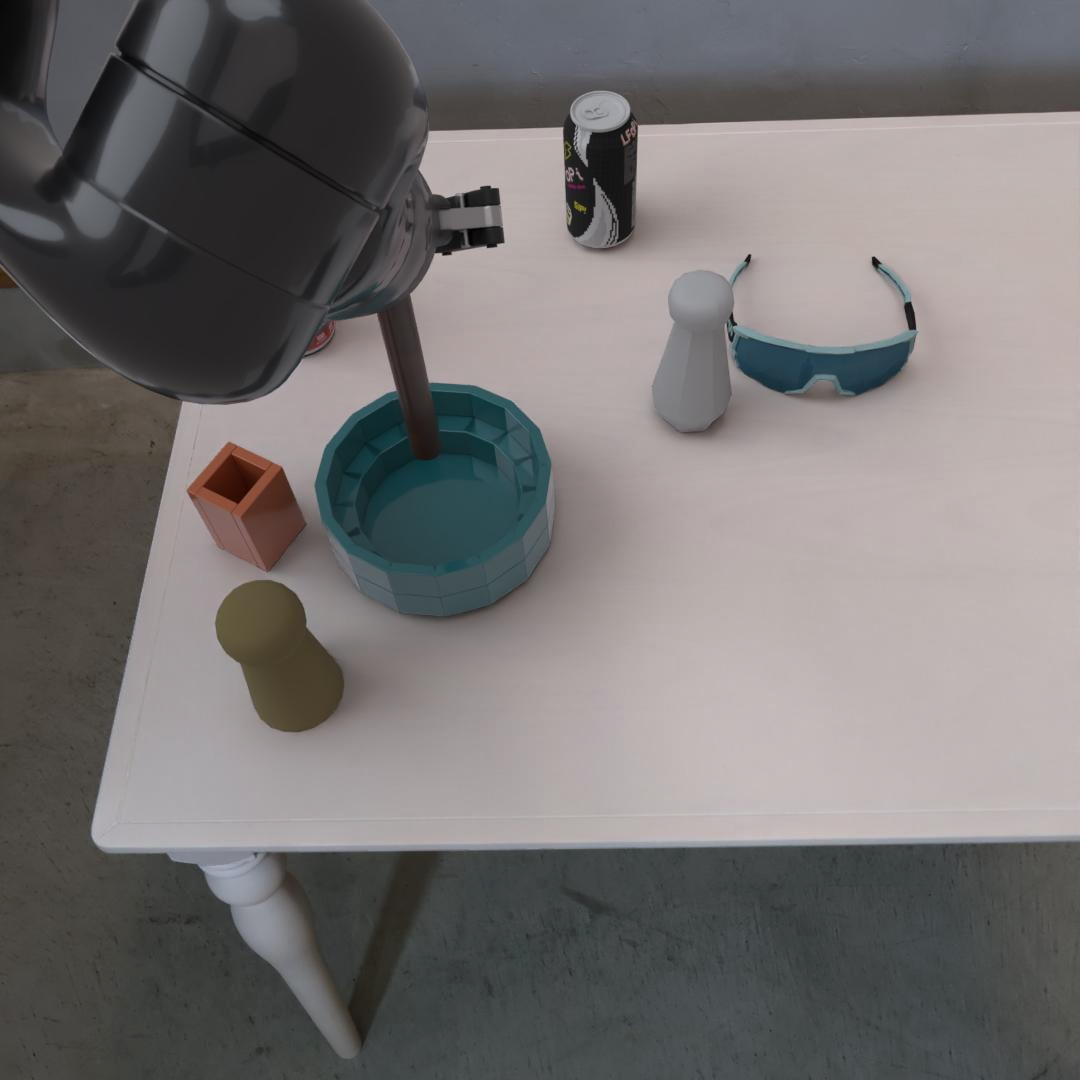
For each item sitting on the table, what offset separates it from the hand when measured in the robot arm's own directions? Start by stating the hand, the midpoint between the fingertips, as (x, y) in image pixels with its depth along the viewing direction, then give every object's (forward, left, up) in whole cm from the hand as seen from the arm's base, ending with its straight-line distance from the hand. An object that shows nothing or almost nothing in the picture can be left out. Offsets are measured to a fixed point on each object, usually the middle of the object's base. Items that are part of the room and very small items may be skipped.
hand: (383, 238), depth 60 cm
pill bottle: (-19, +8, -25) cm, 32 cm away
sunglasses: (+17, +27, -25) cm, 41 cm away
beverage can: (-3, +29, -25) cm, 39 cm away
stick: (+1, -2, -16) cm, 16 cm away
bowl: (+1, -2, -25) cm, 25 cm away
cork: (0, -17, -25) cm, 30 cm away
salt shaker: (+12, +15, -25) cm, 32 cm away
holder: (-10, -9, -25) cm, 28 cm away
